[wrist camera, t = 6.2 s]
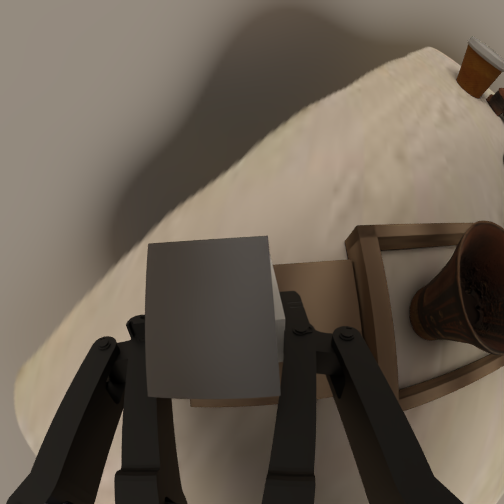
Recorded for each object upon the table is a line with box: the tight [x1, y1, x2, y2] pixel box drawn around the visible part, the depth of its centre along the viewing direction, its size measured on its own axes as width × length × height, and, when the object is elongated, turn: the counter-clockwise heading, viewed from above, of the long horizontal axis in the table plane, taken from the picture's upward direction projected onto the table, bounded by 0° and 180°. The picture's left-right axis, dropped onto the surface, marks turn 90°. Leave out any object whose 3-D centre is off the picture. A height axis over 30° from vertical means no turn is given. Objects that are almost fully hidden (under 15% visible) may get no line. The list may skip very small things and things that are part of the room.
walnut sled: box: [145, 223, 504, 411], centre depth 14 cm, size 29×14×12 cm, turn 94°
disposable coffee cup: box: [457, 36, 504, 98], centre depth 29 cm, size 10×10×12 cm
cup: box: [410, 221, 504, 355], centre depth 15 cm, size 9×9×10 cm
